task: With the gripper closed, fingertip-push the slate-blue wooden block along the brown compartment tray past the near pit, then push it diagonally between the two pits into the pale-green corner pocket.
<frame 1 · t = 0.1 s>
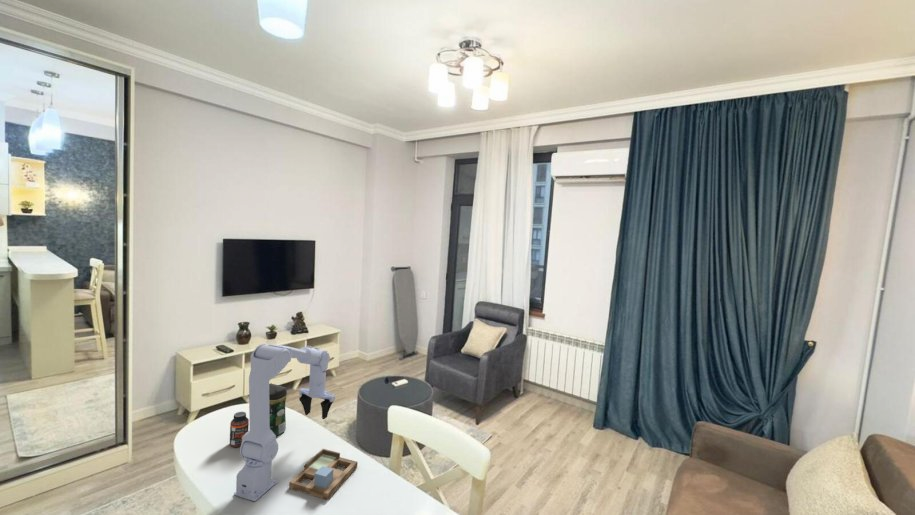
hand: (316, 415, 145), 10 cm above the table, fingers open, 7 cm apart
slate block: (323, 483, 120), point 2 cm above the table, touching brown compartment tray
brown compartment tray: (324, 477, 126), on the table
coffee jar: (272, 432, 151), on the table
supplement bottle: (238, 444, 141), on the table
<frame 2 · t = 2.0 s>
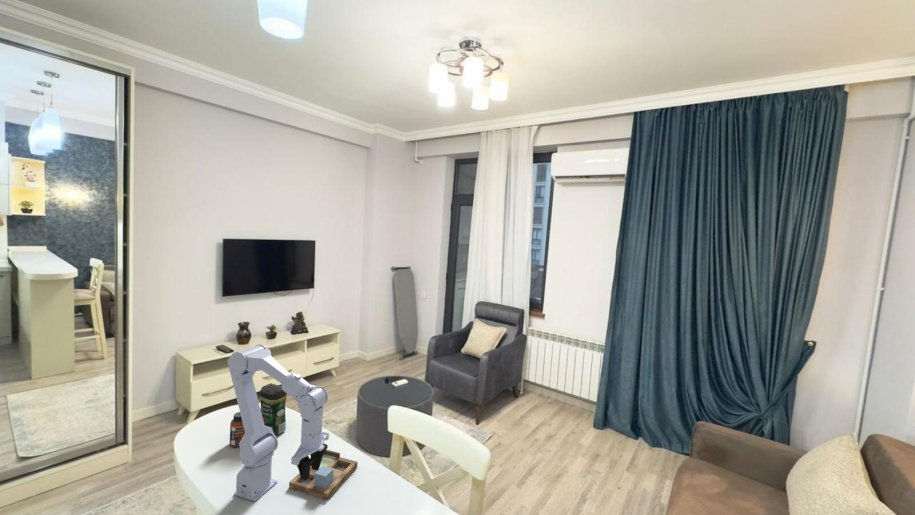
hand: (310, 474, 113), 9 cm above the table, fingers open, 4 cm apart
nothing on the table moved.
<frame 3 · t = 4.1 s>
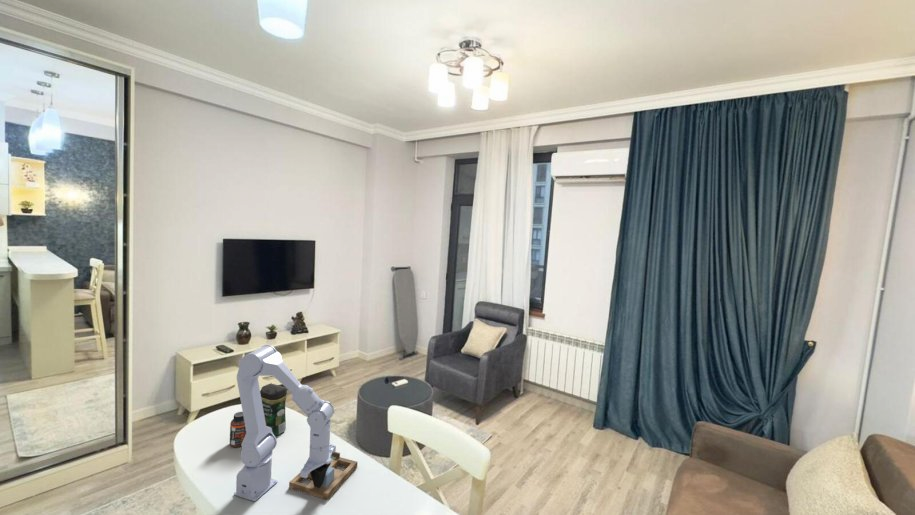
hand: (318, 485, 117), 3 cm above the table, fingers closed
slate block: (324, 482, 121), point 2 cm above the table, touching gripper, brown compartment tray
everything else where it was.
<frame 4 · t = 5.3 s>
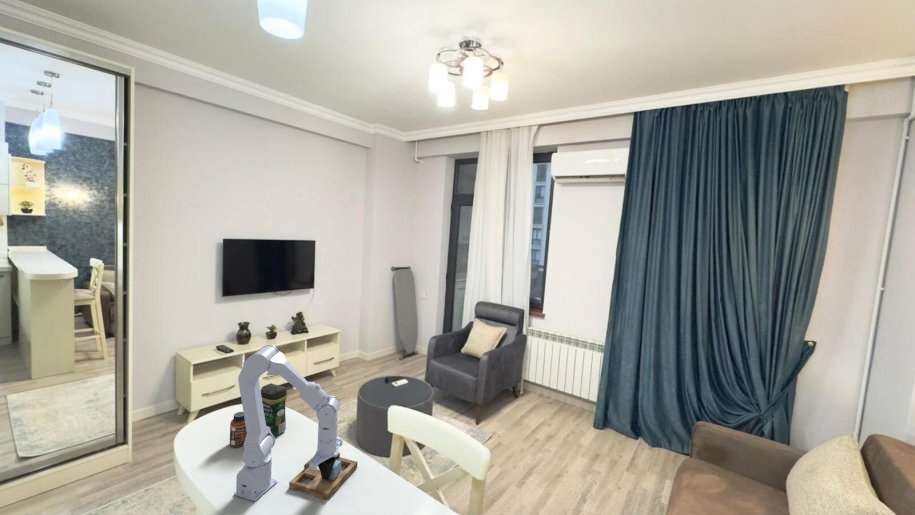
hand: (325, 478, 121), 3 cm above the table, fingers closed
slate block: (331, 474, 125), point 2 cm above the table, touching gripper, brown compartment tray
everything else where it was.
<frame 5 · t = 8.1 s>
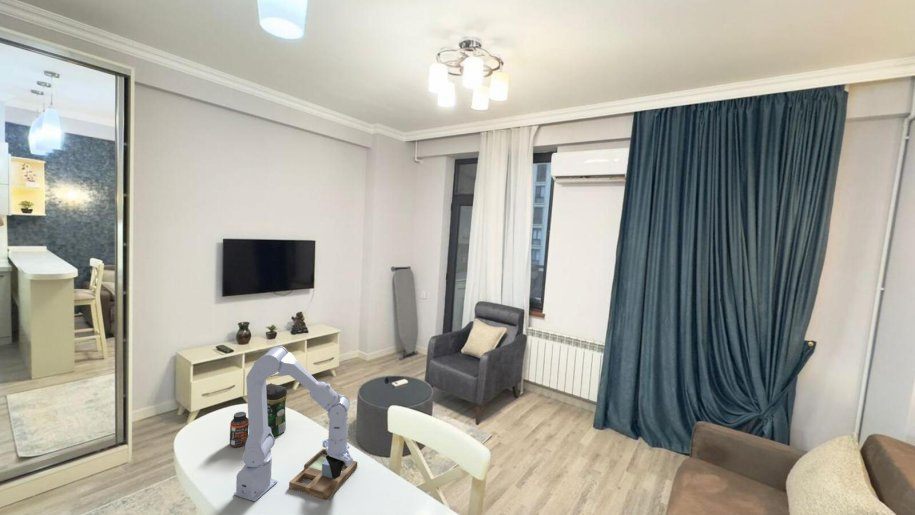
hand: (336, 476, 122), 3 cm above the table, fingers closed
slate block: (330, 473, 125), point 2 cm above the table, touching gripper
everything else where it was.
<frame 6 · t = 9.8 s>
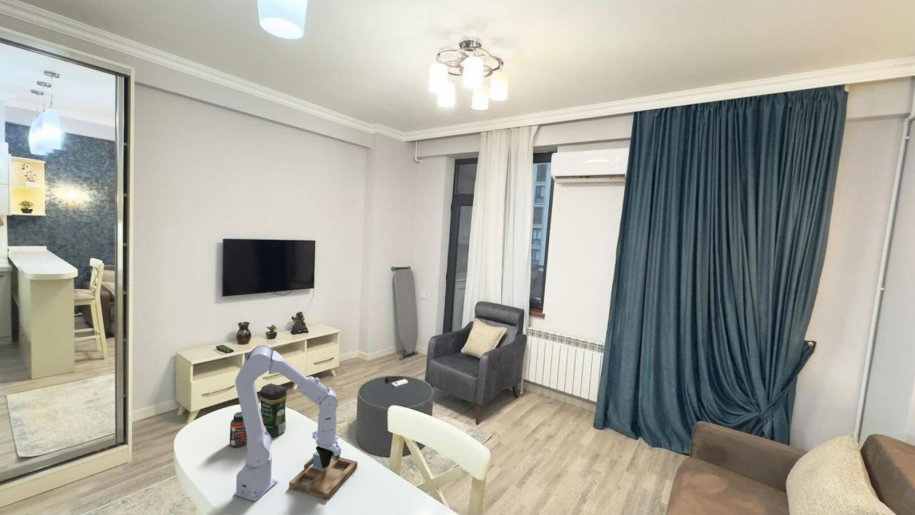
hand: (325, 466, 127), 3 cm above the table, fingers closed
slate block: (321, 463, 130), point 2 cm above the table, touching gripper, brown compartment tray
everything else where it was.
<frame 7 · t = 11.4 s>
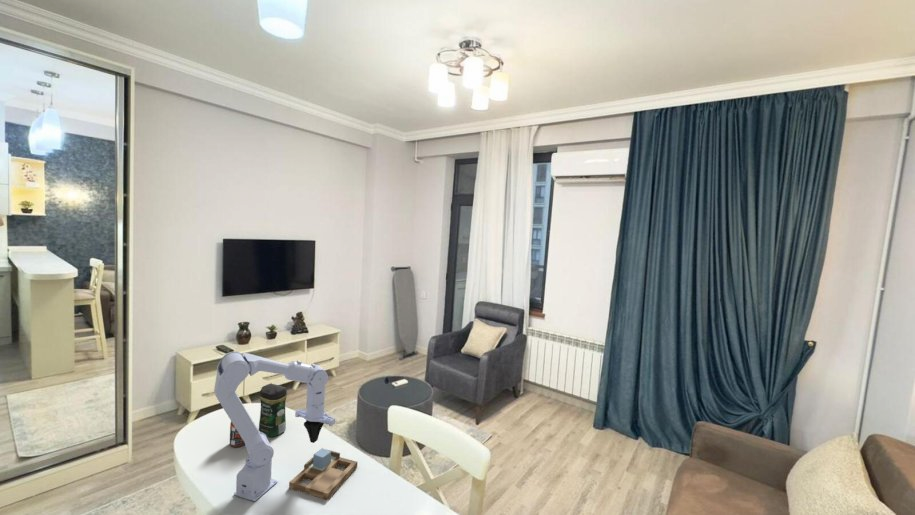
hand: (313, 441, 129), 10 cm above the table, fingers closed
slate block: (321, 464, 130), point 2 cm above the table, touching brown compartment tray
everything else where it was.
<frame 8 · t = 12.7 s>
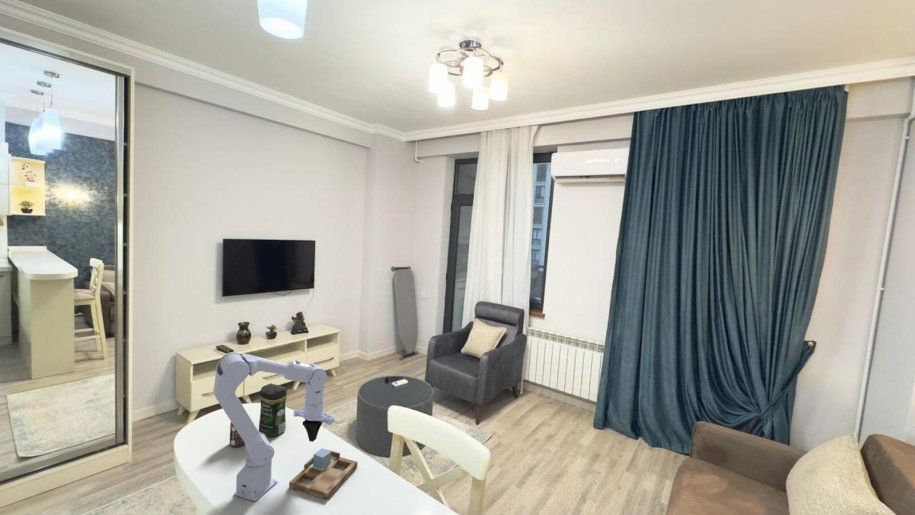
hand: (312, 440, 130), 10 cm above the table, fingers closed
nothing on the table moved.
at the end: slate block inside the target area (0.6 cm from its centre), point 2.0 cm above the table; slate block tilted 0° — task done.
